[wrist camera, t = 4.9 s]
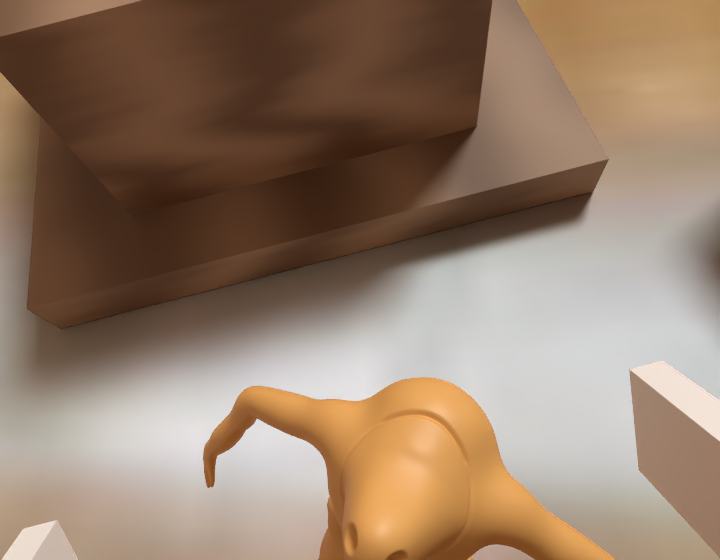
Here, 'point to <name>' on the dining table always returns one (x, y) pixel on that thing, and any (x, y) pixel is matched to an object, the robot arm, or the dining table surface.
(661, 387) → the robot arm
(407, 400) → the figurine
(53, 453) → the dining table surface
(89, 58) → the pedestal
